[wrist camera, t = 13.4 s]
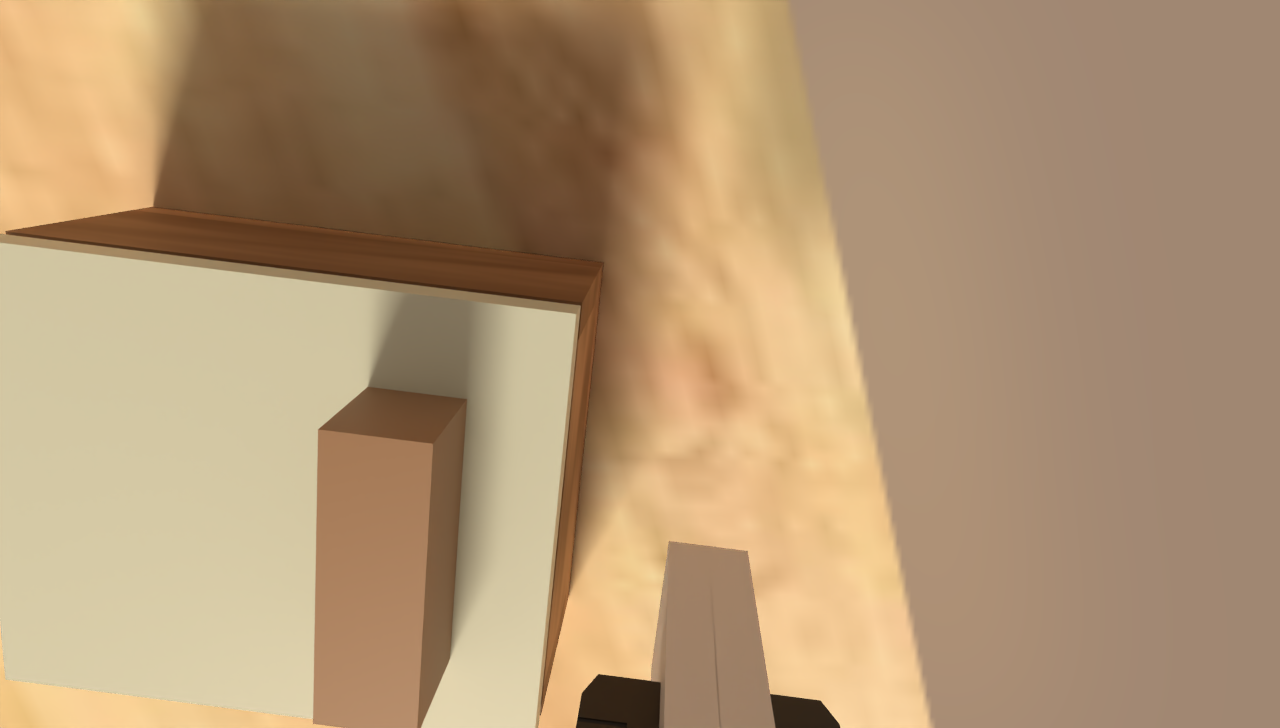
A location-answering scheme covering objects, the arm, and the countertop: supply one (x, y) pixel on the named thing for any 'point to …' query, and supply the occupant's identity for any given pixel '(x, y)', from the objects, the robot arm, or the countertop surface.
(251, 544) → the lid
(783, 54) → the countertop surface
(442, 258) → the box
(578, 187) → the countertop surface
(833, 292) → the countertop surface
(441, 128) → the countertop surface
